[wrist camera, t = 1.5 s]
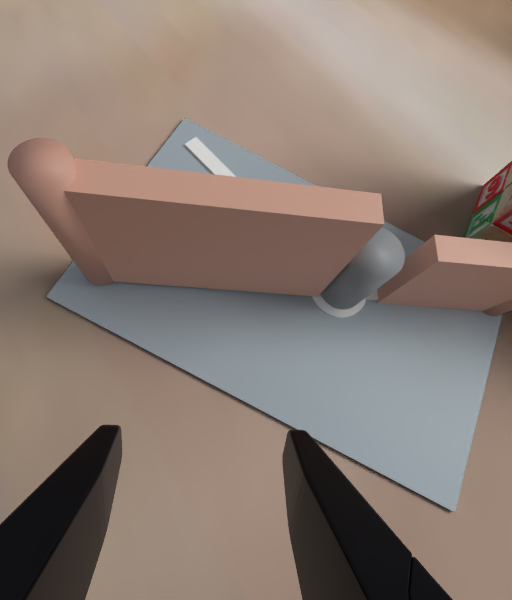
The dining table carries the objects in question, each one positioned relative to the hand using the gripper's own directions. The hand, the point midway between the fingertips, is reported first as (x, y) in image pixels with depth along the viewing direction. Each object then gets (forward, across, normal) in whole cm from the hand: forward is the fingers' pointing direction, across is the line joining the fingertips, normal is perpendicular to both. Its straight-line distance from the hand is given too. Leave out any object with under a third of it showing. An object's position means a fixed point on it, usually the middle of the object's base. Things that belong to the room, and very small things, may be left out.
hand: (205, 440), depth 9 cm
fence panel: (+14, -1, +2) cm, 14 cm away
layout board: (+14, -6, +2) cm, 15 cm away
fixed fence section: (+14, -14, +2) cm, 20 cm away
